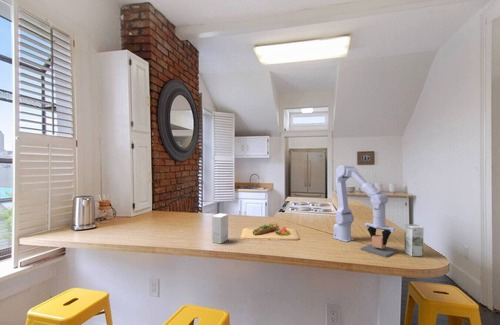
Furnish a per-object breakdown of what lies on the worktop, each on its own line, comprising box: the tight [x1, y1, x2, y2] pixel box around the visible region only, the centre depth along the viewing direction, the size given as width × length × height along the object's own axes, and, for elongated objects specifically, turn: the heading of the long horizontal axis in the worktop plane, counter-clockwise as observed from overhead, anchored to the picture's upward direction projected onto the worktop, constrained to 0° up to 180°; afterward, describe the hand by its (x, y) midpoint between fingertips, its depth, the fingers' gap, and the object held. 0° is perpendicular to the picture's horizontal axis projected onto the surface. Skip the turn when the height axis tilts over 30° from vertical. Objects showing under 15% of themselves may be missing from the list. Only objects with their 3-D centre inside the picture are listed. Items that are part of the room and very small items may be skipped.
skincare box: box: [211, 212, 229, 244], centre depth 146 cm, size 8×7×16 cm
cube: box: [371, 234, 387, 249], centre depth 130 cm, size 5×5×5 cm
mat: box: [360, 243, 399, 258], centre depth 130 cm, size 13×13×1 cm
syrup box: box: [404, 224, 425, 257], centre depth 124 cm, size 6×6×14 cm
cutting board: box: [239, 222, 300, 241], centre depth 160 cm, size 35×23×8 cm
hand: (379, 243), depth 130 cm, fingers closed on cube, 5 cm apart
